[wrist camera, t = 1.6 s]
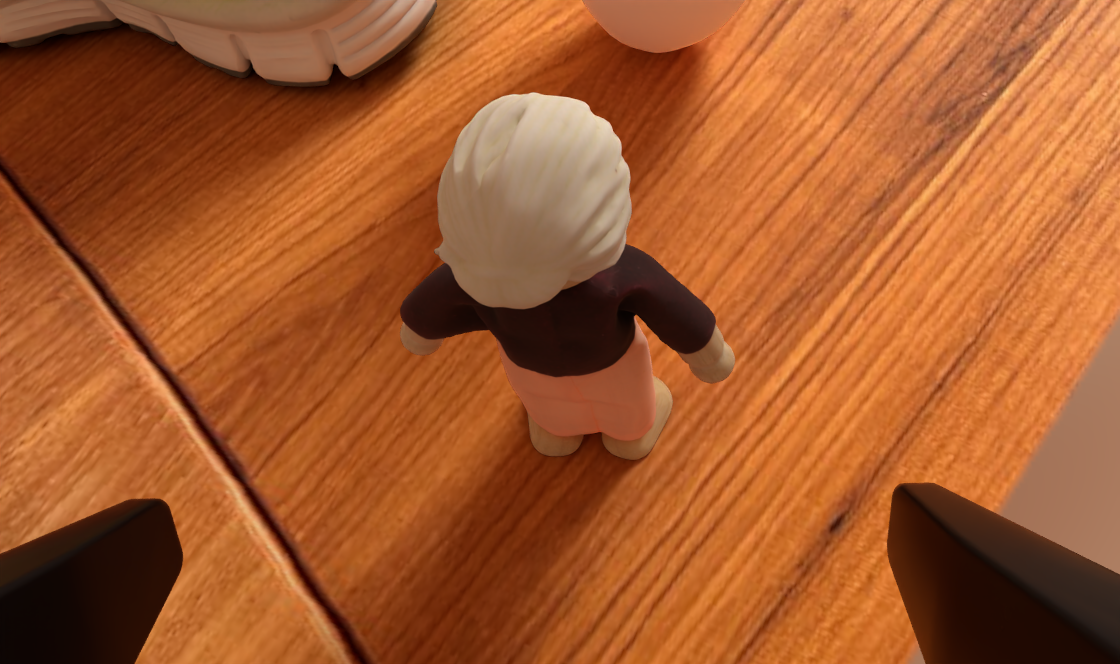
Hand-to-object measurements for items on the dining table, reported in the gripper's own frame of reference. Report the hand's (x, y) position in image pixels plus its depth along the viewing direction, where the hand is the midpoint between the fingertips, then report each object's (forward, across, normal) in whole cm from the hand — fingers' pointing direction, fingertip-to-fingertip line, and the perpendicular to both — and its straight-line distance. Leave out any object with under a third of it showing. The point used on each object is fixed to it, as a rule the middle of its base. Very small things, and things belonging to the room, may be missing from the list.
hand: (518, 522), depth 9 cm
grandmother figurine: (+12, 0, +5) cm, 13 cm away
